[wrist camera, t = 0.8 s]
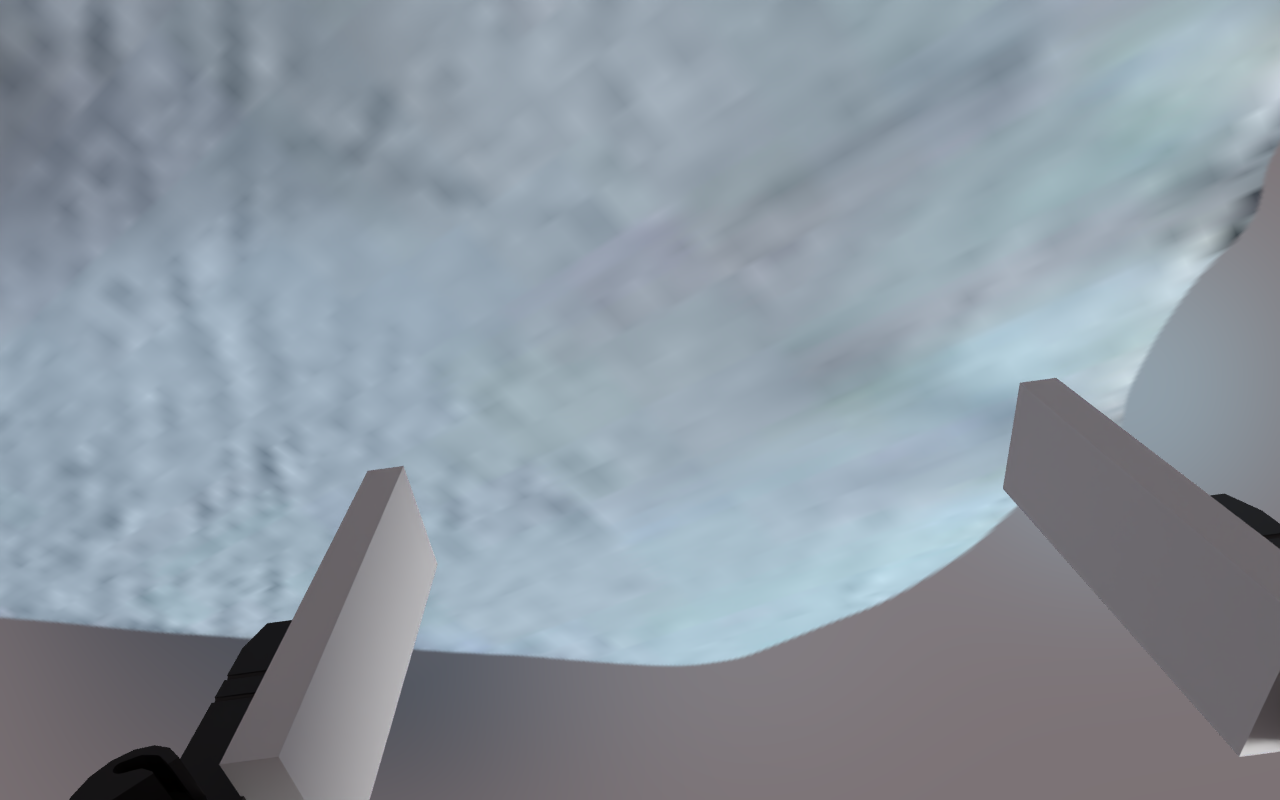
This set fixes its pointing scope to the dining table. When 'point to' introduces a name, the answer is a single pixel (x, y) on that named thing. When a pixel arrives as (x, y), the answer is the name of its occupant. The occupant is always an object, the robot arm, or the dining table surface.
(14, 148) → the dining table surface
